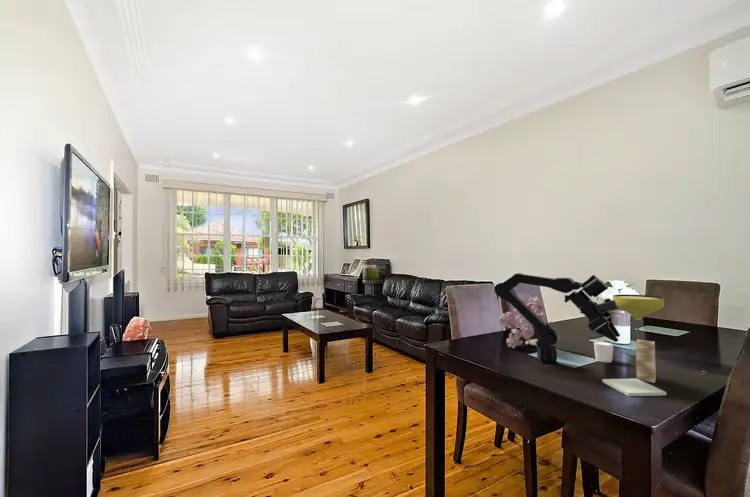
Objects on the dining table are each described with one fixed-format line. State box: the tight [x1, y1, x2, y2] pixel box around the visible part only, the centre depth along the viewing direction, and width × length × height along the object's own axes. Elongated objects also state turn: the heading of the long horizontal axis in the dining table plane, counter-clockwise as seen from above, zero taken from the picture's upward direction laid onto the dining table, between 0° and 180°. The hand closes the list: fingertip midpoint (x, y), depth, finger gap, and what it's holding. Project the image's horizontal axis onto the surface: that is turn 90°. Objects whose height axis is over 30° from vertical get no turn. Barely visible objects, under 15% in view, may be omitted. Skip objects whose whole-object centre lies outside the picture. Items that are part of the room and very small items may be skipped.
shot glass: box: [593, 341, 614, 363], centre depth 146 cm, size 7×7×7 cm
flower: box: [497, 293, 544, 349], centre depth 170 cm, size 20×22×25 cm
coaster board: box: [601, 378, 667, 397], centre depth 115 cm, size 12×12×1 cm
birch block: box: [635, 339, 657, 384], centre depth 124 cm, size 5×5×13 cm
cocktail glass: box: [612, 294, 665, 357], centre depth 154 cm, size 18×18×25 cm
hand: (618, 338), depth 130 cm, fingers open, 9 cm apart
